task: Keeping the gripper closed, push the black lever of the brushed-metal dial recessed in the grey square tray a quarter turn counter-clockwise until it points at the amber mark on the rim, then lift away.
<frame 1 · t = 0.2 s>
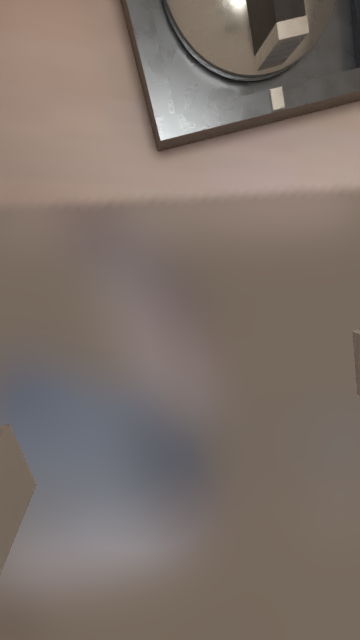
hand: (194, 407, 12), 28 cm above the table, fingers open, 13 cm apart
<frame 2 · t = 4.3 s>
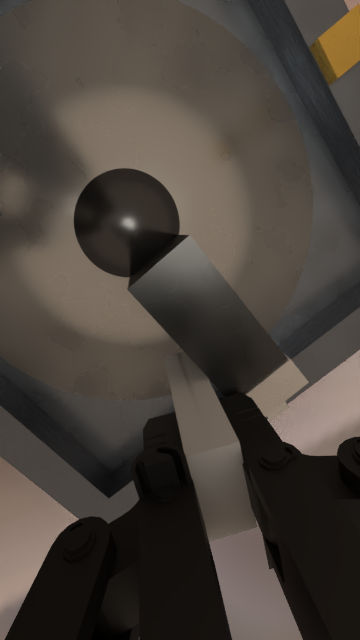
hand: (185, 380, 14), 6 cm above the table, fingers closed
grey square tray: (131, 227, 17), on the table
dial: (127, 225, 12), point 5 cm above the table, hinge at 1.8°, touching gripper
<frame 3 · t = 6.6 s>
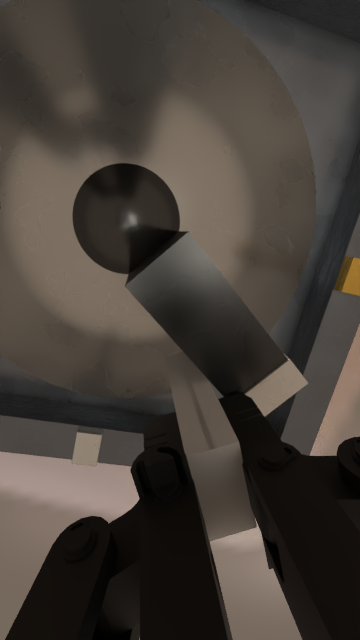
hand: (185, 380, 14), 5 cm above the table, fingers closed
grey square tray: (132, 224, 17), on the table
dial: (127, 221, 12), point 6 cm above the table, hinge at 52.4°, touching gripper
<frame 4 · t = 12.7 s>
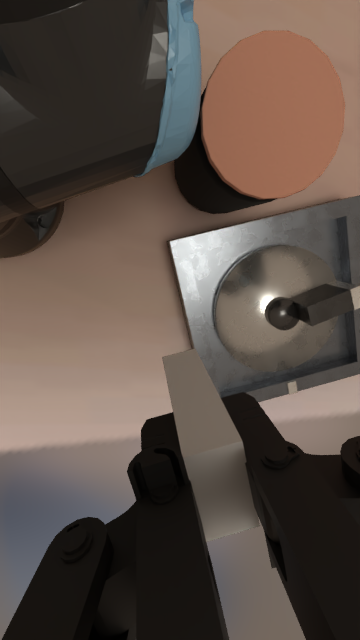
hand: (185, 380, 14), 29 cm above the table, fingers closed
grey square tray: (268, 305, 45), on the table
dial: (285, 315, 40), point 6 cm above the table, hinge at 97.5°
coffee jar: (215, 169, 40), on the table
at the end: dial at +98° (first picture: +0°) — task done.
